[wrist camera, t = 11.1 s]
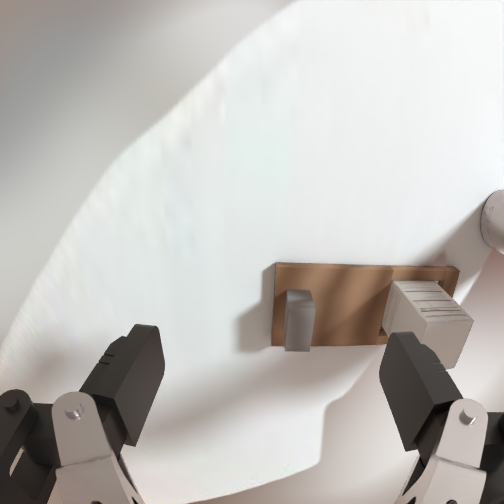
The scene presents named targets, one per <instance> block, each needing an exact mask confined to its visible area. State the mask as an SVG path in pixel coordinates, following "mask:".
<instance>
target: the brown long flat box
mask: <svg viewBox="0 0 504 504" xmlns="http://www.w3.org/2000/svg"><path fill="white" fill-rule="evenodd" d="M459 272H460V271H459V270H458V269H457V268H455V267H430V266H386V265H347V264H312V263H281V262H276V269H275V288H274V306H273V323H272V338H271V346H285V351H310V346H354V345H378V344H387V343H388V339H389V337H388V336H387V334H386V332H385V330H381V331H380V328H381V324H382V320H383V316H384V312H385V308H386V303H387V299H388V295H389V290H390V285H391V281H392V280H401V281H435V280H436V281H439V282H438V285H439V286H440V287H441V288H442V289H443V290H444V291H445V292H446V293H447V294H448V295H449V296H450V297H451V298H452V297H453V294H454V291H455V287H456V283H457V280H458V276H459Z"/></svg>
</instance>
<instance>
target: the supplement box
mask: <svg viewBox="0 0 504 504" xmlns="http://www.w3.org/2000/svg"><path fill="white" fill-rule="evenodd" d="M473 322H474V320H473V319H472V318H471V317H470V316H469V315H468V314H467V313H466V312H465V311H464V310H463V309H462V308H461V307H460V306H459V305H458V304H457V303H456V301H454V300H453V299H452V298H451V297H450V296H449V295H448V294H447V293H446V292H445V291H444V290H443V289H442V288H441V287H440V286H439V285H438V284H437V283H436V282H435V281H401V280H392V281H391V285H390V290H389V295H388V299H387V303H386V308H385V312H384V316H383V320H382V324H381V325H382V327H383V329H384V330H385V332H386V334H387V336H388V337H389V336H390V335H391V333H393V332H408V331H412V332H413V333H414V334H415V335H416V337H417V339H418V340H419V342H420V343H421V344H425V345H426V346H427V347H429V348H430V349H431V350H433V351H434V352H435V353H436V355H437V357H438V358H439V360H440V361H441V364H443V366H444V367H445V369H451V368H454V367H455V365H456V363H457V361H458V358H459V356H460V354H461V351H462V349H463V347H464V344H465V342H466V340H467V337H468V335H469V332H470V330H471V327H472V324H473Z"/></svg>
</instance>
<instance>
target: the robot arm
mask: <svg viewBox="0 0 504 504" xmlns="http://www.w3.org/2000/svg"><path fill="white" fill-rule="evenodd" d="M481 233H482V236H483V239H484V241H485V242H486V243H487V244H488V245H489V246H491V247H492V248H494V249H495V250H497V251H499V252H500V253H502V254H503V255H504V190H498V191H496V192H494V193H493V194H492V195H491V196H490V197H489V198H488V200H487V201H486V203H485V205H484V208H483V211H482V215H481ZM164 370H165V360H164V355H163V350H162V344H161V339H160V333H159V329H158V327H157V326H151V325H141V324H135V325H134V327H133V328H132V330H131V331H130V333H129V334H128V336H127V337H124V336H121V337H120V338H118V339H117V340H115V341H114V342H113V343H111V344H110V346H109V347H108V348H107V350H106V351H105V353H104V356H102V357H101V359H100V360H99V363H97V364H96V366H95V367H94V369H93V370H92V372H91V373H90V375H89V376H88V378H87V379H86V381H85V382H84V384H83V386H82V387H81V389H80V390H79V392H70V393H66V394H64V395H62V396H61V397H59V398H58V399H57V400H56V401H55V403H54V404H40V403H33V402H32V401H31V399H30V397H29V395H28V394H27V393H26V392H24V391H22V390H18V389H15V390H10V391H7V392H5V393H3V394H2V395H1V396H0V504H47V502H48V500H49V497H50V495H51V492H52V490H53V487H54V485H55V482H56V480H57V481H58V485H59V489H60V493H61V497H62V500H63V503H64V504H145V503H144V501H143V499H142V498H141V496H140V494H139V492H138V490H137V488H136V486H135V484H134V481H133V479H132V477H131V475H130V473H129V471H128V468H127V466H126V464H125V462H124V459H123V457H122V455H121V453H120V452H121V449H122V447H123V444H126V445H130V446H134V447H135V446H136V444H137V441H138V439H139V436H140V433H141V431H142V428H143V426H144V423H145V421H146V418H147V416H148V413H149V411H150V408H151V406H152V403H153V401H154V398H155V396H156V393H157V391H158V388H159V386H160V383H161V381H162V378H163V376H164ZM379 377H380V383H381V385H382V388H383V390H384V393H385V395H386V398H387V401H388V403H389V406H390V409H391V411H392V414H393V417H394V420H395V423H396V425H397V428H398V431H399V434H400V437H401V440H402V443H403V446H404V449H405V451H411V450H416V449H418V451H419V456H418V457H417V459H416V461H415V463H414V465H413V467H412V470H411V472H410V474H409V476H408V478H407V480H406V482H405V484H404V487H403V488H402V490H401V492H400V494H399V496H398V498H397V499H396V501H395V503H394V504H504V412H503V413H502V412H499V413H497V412H486V410H485V408H484V407H483V406H482V405H481V404H480V403H478V402H477V401H474V400H472V399H464V398H463V397H462V395H461V393H460V392H459V390H458V388H457V387H456V385H455V383H454V382H453V380H452V379H451V377H450V375H449V374H448V372H447V371H446V369H445V367H444V366H443V364H441V361H440V360H439V358H438V357H437V355H436V353H435V352H434V351H433V350H431V349H430V348H429V347H427V346H426V345H425V344H421V343H420V342H419V340H418V339H417V337H416V335H415V334H414V333H413V332H412V331H408V332H393V333H391V335H390V336H389V339H388V343H387V346H386V349H385V353H384V356H383V359H382V362H381V365H380V371H379ZM20 448H22V449H23V450H24V451H23V453H22V455H21V457H20V459H19V461H18V463H17V465H16V467H15V469H14V471H13V473H12V475H11V477H10V474H9V472H10V467H11V465H12V463H13V461H14V459H15V457H16V455H17V454H18V452H19V450H20Z"/></svg>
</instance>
